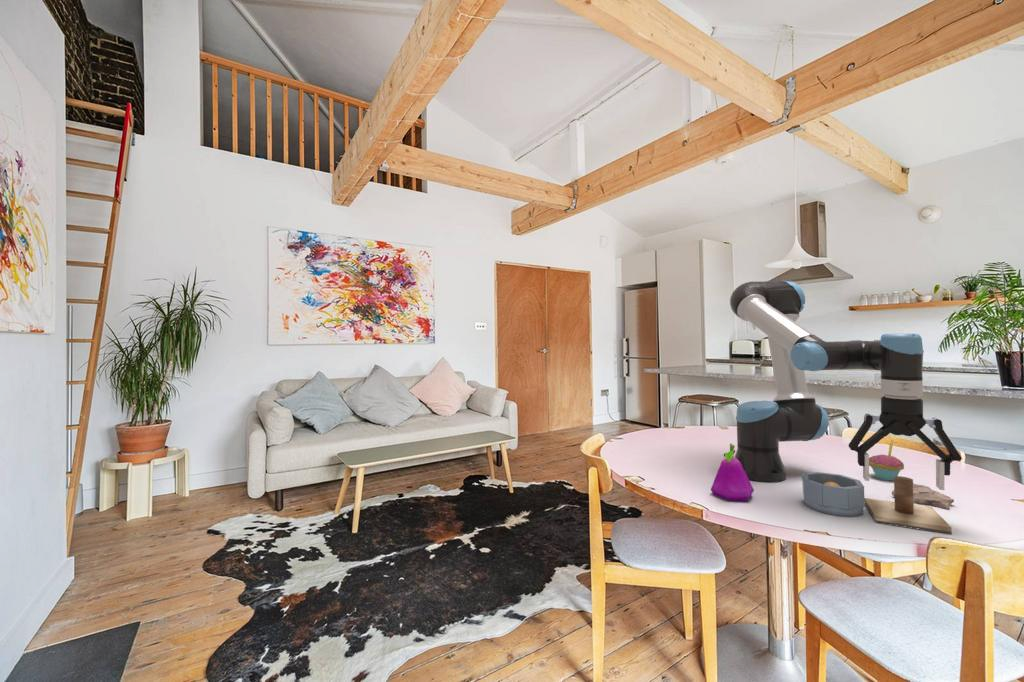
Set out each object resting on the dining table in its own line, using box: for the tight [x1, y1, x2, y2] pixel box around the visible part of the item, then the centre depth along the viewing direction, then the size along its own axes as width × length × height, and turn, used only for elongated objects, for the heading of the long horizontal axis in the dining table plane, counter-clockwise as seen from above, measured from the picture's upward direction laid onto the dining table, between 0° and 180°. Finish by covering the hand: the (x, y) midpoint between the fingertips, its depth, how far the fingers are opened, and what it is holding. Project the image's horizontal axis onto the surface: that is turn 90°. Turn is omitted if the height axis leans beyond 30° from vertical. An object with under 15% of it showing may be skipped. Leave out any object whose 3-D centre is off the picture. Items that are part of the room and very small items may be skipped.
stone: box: [891, 483, 955, 510], centre depth 115 cm, size 12×12×3 cm
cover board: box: [864, 475, 952, 532], centre depth 103 cm, size 13×13×9 cm
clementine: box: [824, 482, 839, 486], centre depth 111 cm, size 4×4×4 cm
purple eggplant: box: [710, 443, 755, 502], centre depth 120 cm, size 11×11×15 cm
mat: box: [864, 502, 953, 535], centre depth 103 cm, size 13×13×1 cm
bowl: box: [801, 471, 866, 518], centre depth 111 cm, size 12×12×7 cm
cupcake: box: [869, 440, 905, 482], centre depth 131 cm, size 9×8×12 cm
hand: (901, 483), depth 103 cm, fingers open, 13 cm apart
